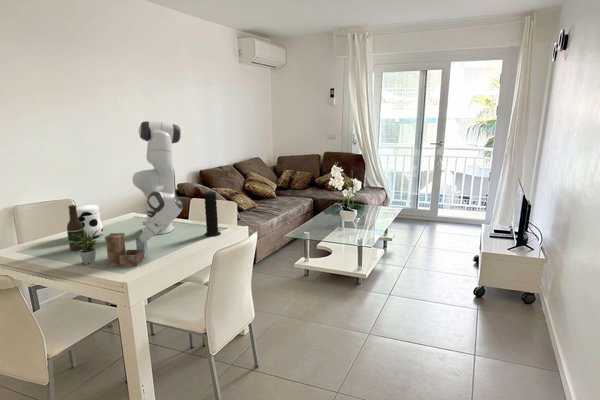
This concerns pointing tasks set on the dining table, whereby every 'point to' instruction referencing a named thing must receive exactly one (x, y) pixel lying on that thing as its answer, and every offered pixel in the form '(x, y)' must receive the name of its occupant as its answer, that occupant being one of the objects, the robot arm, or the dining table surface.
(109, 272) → the dining table surface
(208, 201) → the handle grip
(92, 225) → the milk container
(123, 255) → the brown l-shaped block
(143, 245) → the rail end
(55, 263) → the dining table surface
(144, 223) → the robot arm
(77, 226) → the beer bottle
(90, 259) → the house plant
